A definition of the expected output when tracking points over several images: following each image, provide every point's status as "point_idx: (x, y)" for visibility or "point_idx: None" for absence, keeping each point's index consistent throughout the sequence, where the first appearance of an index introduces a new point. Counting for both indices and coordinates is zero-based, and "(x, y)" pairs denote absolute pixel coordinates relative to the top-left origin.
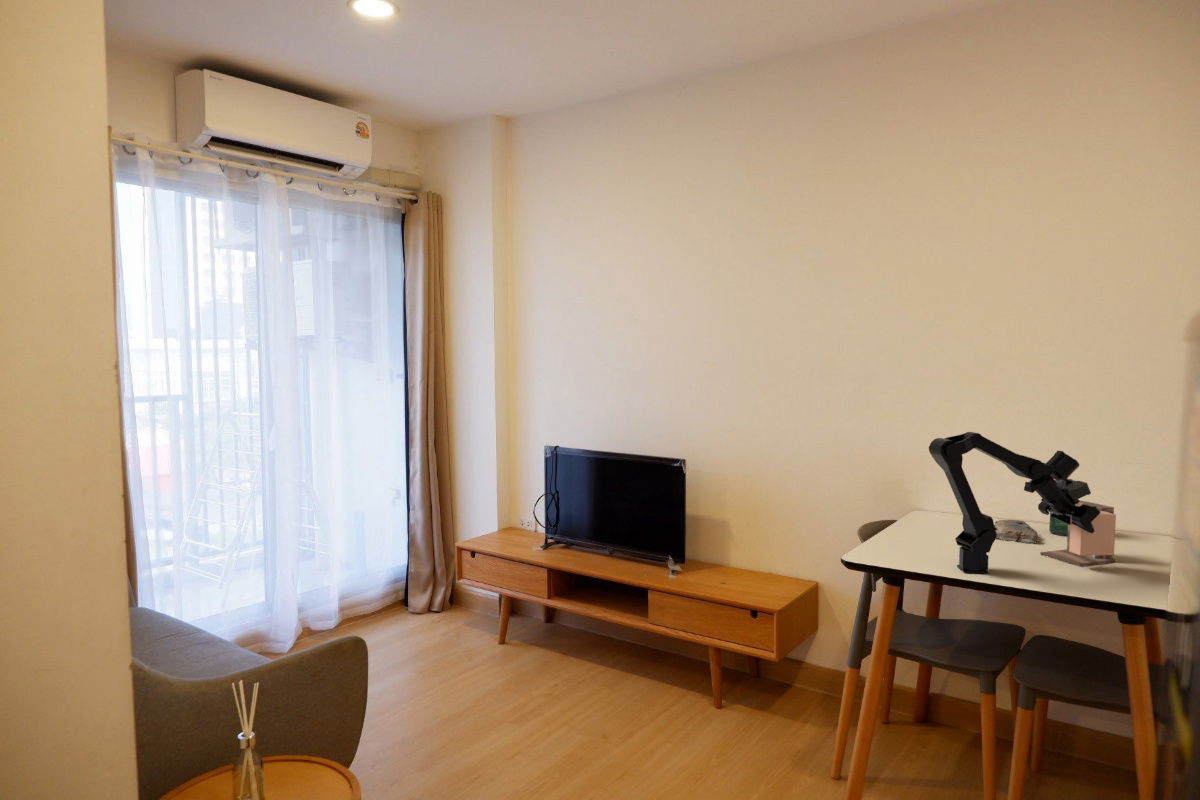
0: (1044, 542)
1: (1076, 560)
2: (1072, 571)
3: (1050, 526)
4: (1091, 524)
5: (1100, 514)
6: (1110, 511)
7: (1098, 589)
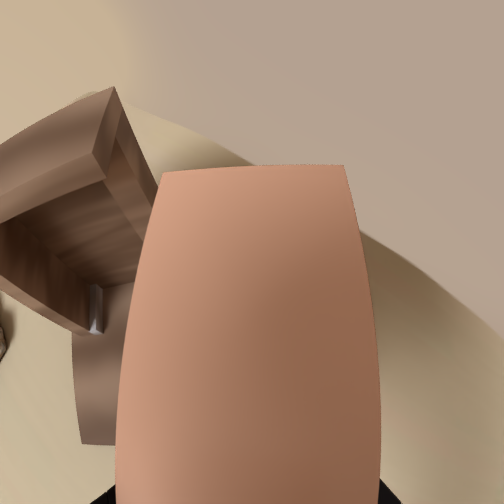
0: (8, 307)
1: None
2: None
3: None
4: (387, 490)
5: (353, 343)
6: (118, 120)
7: (484, 492)
